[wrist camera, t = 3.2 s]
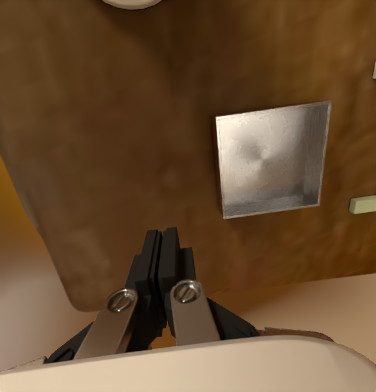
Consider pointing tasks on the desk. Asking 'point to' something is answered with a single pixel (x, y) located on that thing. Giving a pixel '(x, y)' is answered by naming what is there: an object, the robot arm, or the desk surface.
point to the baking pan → (270, 158)
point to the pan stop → (364, 202)
